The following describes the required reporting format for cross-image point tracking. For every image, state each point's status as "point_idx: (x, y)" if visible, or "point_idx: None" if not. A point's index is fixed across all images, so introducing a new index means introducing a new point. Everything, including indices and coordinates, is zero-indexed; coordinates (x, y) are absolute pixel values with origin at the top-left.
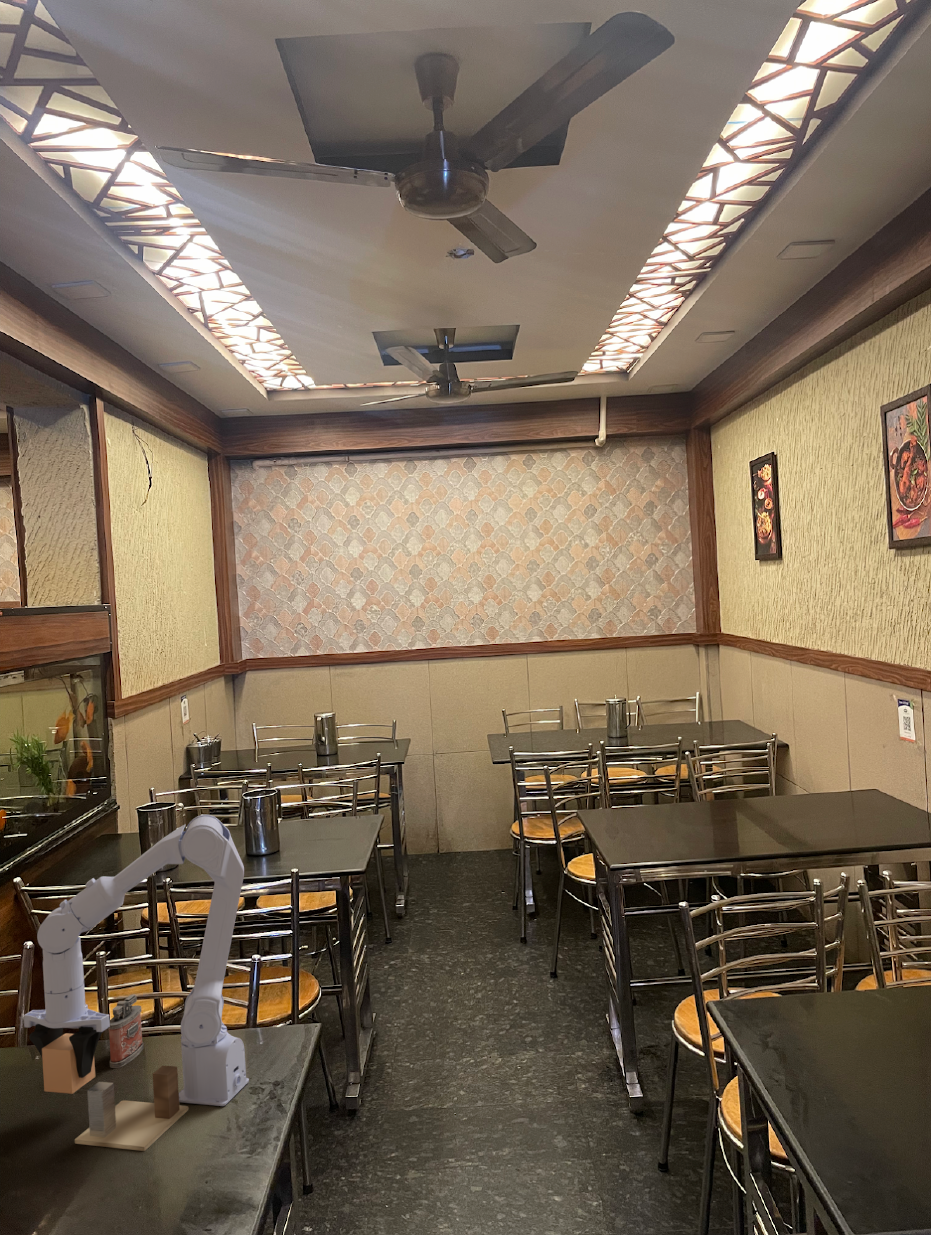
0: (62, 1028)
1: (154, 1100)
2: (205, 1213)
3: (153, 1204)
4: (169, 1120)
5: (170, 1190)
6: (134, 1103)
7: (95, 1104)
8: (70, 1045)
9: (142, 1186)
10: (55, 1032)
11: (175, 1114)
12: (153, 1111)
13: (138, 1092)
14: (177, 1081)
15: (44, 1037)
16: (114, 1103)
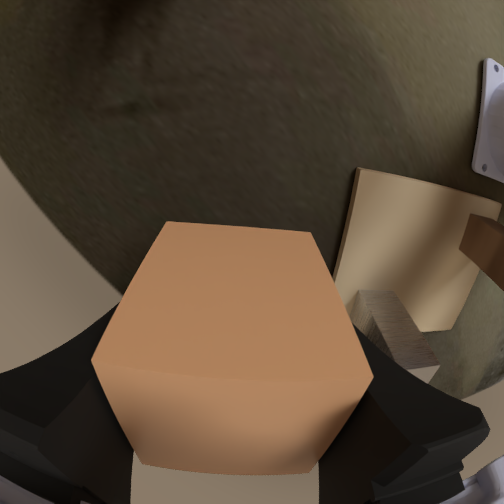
0: (72, 408)
1: (480, 267)
2: (492, 378)
3: (457, 387)
4: None
5: (472, 369)
6: (401, 188)
7: None
8: (280, 457)
9: (447, 375)
10: (96, 448)
11: None
12: (451, 225)
13: (370, 101)
14: None
15: (122, 489)
16: (417, 328)
